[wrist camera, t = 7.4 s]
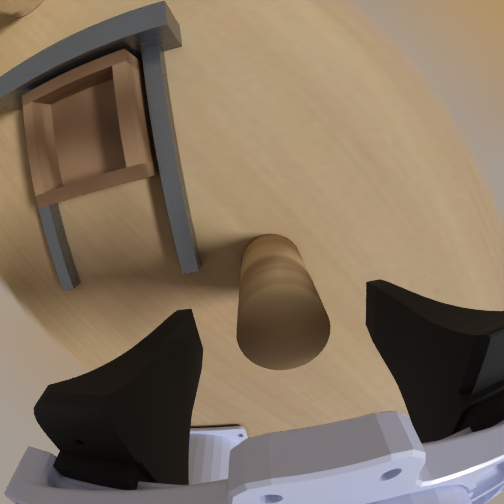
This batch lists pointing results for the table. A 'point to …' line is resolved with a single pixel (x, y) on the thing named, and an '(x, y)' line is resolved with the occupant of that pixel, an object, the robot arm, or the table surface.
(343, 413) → the table surface
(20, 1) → the cup with straw
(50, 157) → the walnut socket block
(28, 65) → the rail
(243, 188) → the table surface
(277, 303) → the oak dowel
